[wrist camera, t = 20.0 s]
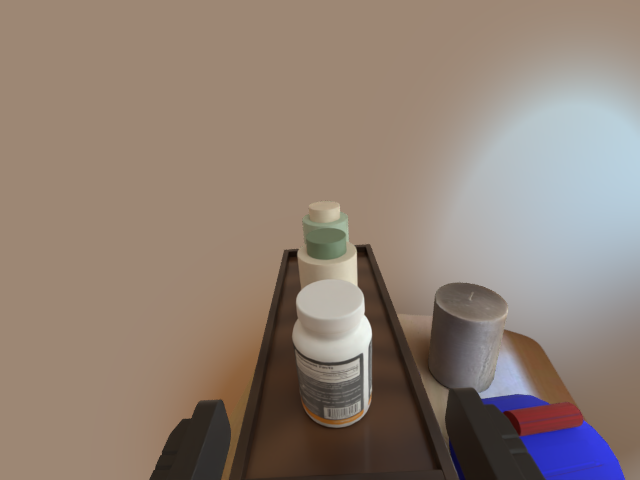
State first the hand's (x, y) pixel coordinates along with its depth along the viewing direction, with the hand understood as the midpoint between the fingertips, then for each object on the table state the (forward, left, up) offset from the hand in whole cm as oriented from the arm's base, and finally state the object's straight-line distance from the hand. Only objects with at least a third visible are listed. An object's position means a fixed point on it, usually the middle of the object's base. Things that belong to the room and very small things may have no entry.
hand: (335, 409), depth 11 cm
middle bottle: (+17, +10, -12) cm, 23 cm away
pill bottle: (+9, +5, -12) cm, 16 cm away
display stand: (+17, +10, -31) cm, 37 cm away
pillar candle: (+35, -3, -31) cm, 47 cm away
